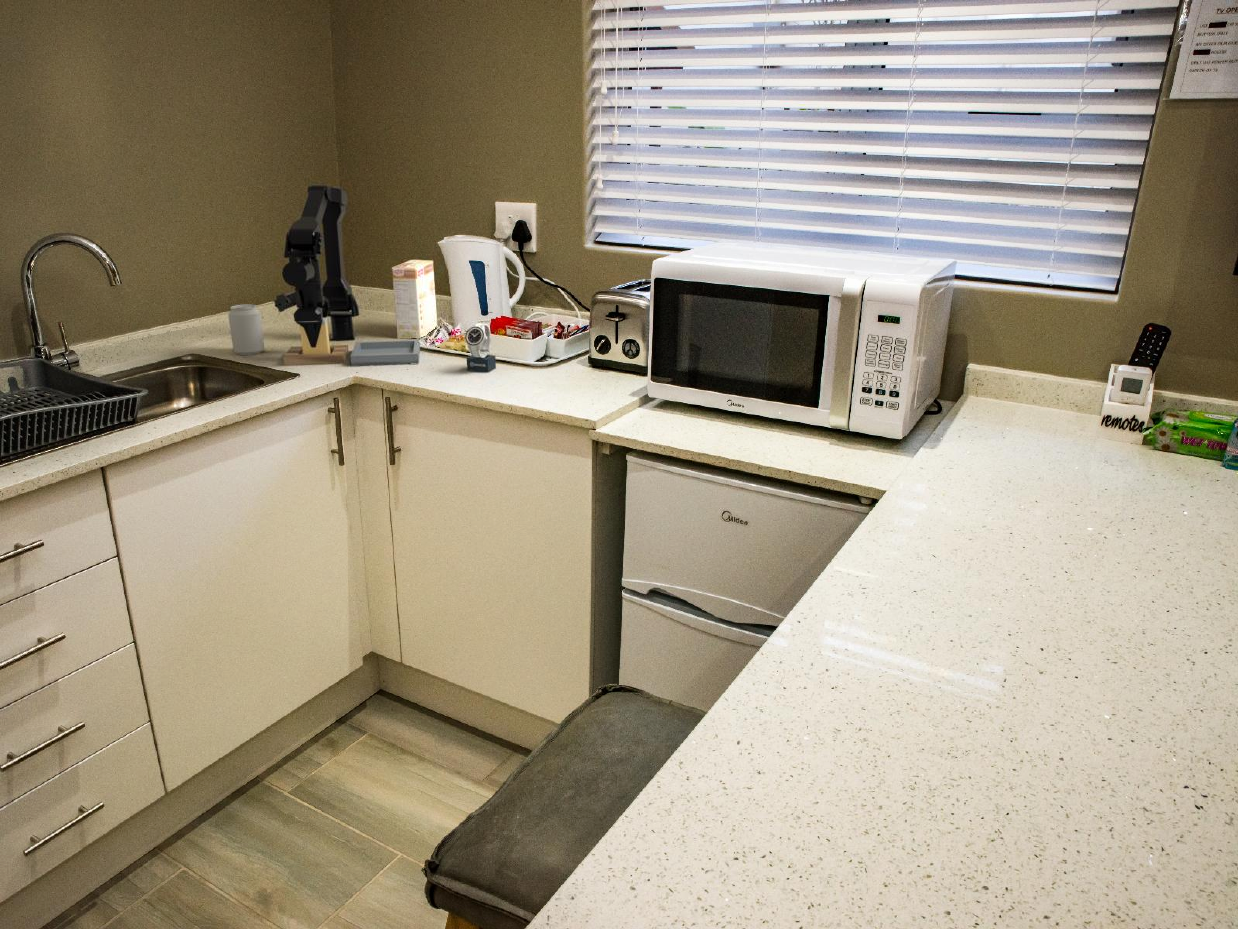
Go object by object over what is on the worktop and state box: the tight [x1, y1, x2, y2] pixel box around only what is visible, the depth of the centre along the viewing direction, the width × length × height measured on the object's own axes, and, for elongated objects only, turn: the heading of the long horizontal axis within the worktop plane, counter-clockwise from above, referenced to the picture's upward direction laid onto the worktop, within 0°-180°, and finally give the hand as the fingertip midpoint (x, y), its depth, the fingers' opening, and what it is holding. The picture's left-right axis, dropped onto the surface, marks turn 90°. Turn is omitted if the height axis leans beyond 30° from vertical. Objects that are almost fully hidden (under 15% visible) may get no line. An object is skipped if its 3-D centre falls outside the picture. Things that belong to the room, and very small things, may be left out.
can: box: [228, 304, 265, 356], centre depth 236 cm, size 8×8×12 cm
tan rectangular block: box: [299, 318, 330, 354], centre depth 230 cm, size 4×6×10 cm, turn 100°
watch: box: [464, 322, 497, 373], centre depth 221 cm, size 6×8×11 cm
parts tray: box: [350, 339, 421, 367], centre depth 233 cm, size 16×16×2 cm
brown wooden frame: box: [283, 344, 350, 367], centre depth 231 cm, size 12×14×2 cm
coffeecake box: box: [391, 259, 438, 340], centre depth 257 cm, size 15×7×20 cm, turn 172°
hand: (315, 343), depth 230 cm, fingers open, 9 cm apart
